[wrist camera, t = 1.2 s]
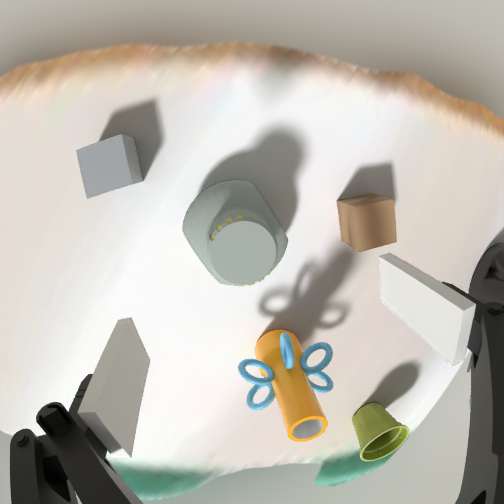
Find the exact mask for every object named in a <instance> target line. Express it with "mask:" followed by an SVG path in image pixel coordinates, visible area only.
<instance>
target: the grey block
mask: <svg viewBox="0 0 504 504" xmlns="http://www.w3.org/2000/svg"><path fill="white" fill-rule="evenodd" d="M76 151H77V156H78V161H79V166H80V171H81V175H82V180H83V184H84V188H85V192H86V196H87V199H88V198H91V197H94V196H97V195H100V194H103V193H106V192H109V191H112V190H115V189H119V188H122V187H125V186H128V185H132V184H135V183H138V182H142V181H144V180H143V176H142V172H141V168H140V163H139V159H138V154H137V149H136V145H135V140H134V138H133V137H130V136H127V135H124V134H119V135H116V136H113V137H111V138H108V139H105V140H102V141H99V142H97V143H94V144H91V145H89V146H86V147H83V148H81V149H78V150H76Z"/></svg>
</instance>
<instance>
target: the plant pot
mask: <svg viewBox="0 0 504 504" xmlns="http://www.w3.org/2000/svg"><path fill="white" fill-rule="evenodd" d="M352 422H353V425H354V428H355V431H356V434H357V437H358V440H359V444H360V451H361V452H360V457H361V459H362V460H364V461H374V460H378V459H380V458H383V457H385V456H387V455H389V454H390V453H392V452H393V451H395V450H396V449H397V448H398V447H400V446H401V445H402V443H403V442H404V441H405V440H406V438H407V437H408V435H409V429H408V427H407V426H405V425H402V424H401V423H399V422H397V421H396V420H395V419H394V418H393V417H392V416H391V415H390V414H389V413H388V412H387V411H386V410H385V409H384V408H383V407H382V406H381V405H380V404H379V403H369V404H367V405H365V406H363V407H361V408H360V409H359V410H358V411H357V413H356V414H355V415H354V416H353V418H352Z"/></svg>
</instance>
